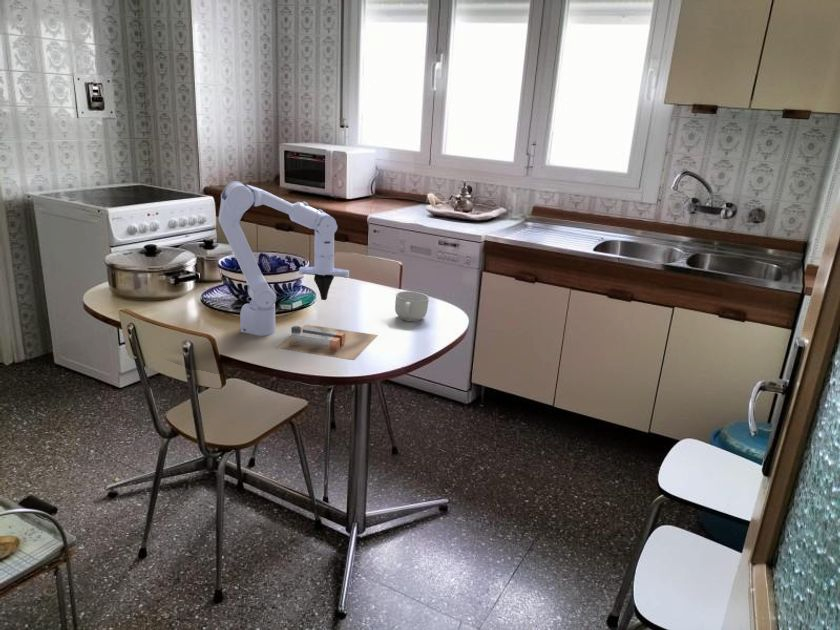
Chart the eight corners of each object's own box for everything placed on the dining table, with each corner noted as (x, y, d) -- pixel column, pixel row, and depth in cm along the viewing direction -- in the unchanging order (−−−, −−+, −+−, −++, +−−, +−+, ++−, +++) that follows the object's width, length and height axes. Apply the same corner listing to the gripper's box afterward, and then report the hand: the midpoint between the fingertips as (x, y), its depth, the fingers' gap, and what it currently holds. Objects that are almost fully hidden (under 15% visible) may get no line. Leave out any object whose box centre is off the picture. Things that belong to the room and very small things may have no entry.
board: (274, 351, 168) (274, 347, 168) (306, 328, 187) (306, 324, 186) (354, 364, 163) (354, 360, 163) (377, 338, 182) (378, 335, 181)
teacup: (402, 311, 207) (403, 288, 204) (432, 316, 203) (434, 293, 201) (385, 323, 195) (386, 299, 192) (416, 329, 191) (418, 305, 188)
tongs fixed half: (286, 343, 171) (286, 330, 170) (294, 338, 175) (293, 325, 174) (336, 351, 168) (336, 338, 167) (342, 345, 172) (342, 332, 171)
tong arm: (302, 339, 174) (302, 329, 173) (306, 336, 176) (306, 326, 175) (341, 345, 171) (341, 335, 170) (345, 342, 173) (345, 332, 172)
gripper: (296, 256, 177) (296, 301, 181) (346, 259, 176) (345, 304, 180) (302, 250, 183) (302, 294, 188) (350, 254, 182) (349, 297, 187)
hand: (324, 299), depth 184 cm, fingers closed
